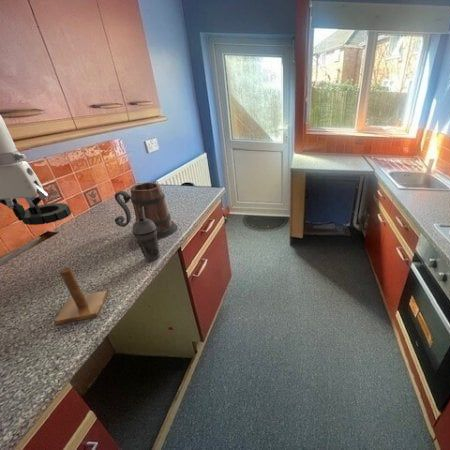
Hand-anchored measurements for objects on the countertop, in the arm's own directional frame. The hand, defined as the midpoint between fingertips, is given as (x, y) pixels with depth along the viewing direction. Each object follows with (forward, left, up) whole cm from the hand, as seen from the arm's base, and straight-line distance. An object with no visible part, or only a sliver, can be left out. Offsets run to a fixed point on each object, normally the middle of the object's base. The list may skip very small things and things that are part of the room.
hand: (30, 217), depth 77 cm
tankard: (+26, +17, -18) cm, 36 cm away
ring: (+4, 0, 0) cm, 4 cm away
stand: (+17, -26, -17) cm, 36 cm away
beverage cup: (+31, -5, -18) cm, 36 cm away
